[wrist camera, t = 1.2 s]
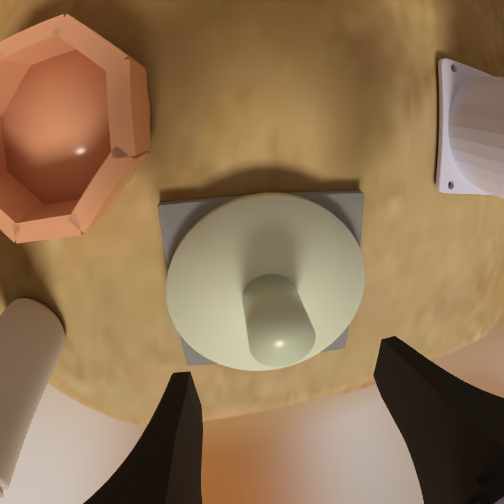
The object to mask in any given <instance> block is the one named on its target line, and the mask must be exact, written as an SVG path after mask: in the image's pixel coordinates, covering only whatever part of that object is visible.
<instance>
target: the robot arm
mask: <svg viewBox="0 0 504 504" xmlns="http://www.w3.org/2000/svg"><path fill="white" fill-rule="evenodd" d="M451 66H452V68H453V71H452V70H451ZM438 74H439V147H438V163H437V175H436V188H437V190H438V191H440V192H442V193H461V194H487V195H496V196H498V197H500V198H502V199H504V77H495V76H492V75H490V74H488V73H485V72H483V71H480V70H478V69H475V68H473V67H470V66H467V65H465V64H462V63H459V62H456V61H453V60H451V59H448V58H442V59H440V60H439V61H438ZM449 182H450V186H449V187H448V184H449ZM373 376H374V378H375V381H376V384H377V387H378V389H379V392H380V394H381V397H382V398H383V400H384V402H385V404H386V406H387V408H388V410H389V412H390V413H391V415H392V417H393V419H394V421H395V423H396V425H397V426H398V428H399V430H400V432H401V434H402V436H403V438H404V440H405V442H406V444H407V447H408V449H409V452H410V455H411V458H412V460H413V463H414V466H415V469H416V473H417V476H418V479H419V483H420V487H421V491H422V495H423V500H424V504H504V398H502V397H499V396H496V395H493V394H490V393H488V392H486V391H483V390H481V389H479V388H476V387H474V386H472V385H470V384H468V383H466V382H464V381H462V380H460V379H459V378H457V377H455V376H454V375H452V374H450V373H449V372H447V371H445V370H444V369H442V368H440V367H439V366H438V365H436V364H434V363H433V362H432V361H430V360H429V359H427V358H426V357H424V356H423V355H421V354H420V353H419V352H417V351H416V350H414V349H413V348H412V347H410V346H409V345H407V344H406V343H405V342H403V341H402V340H400V339H399V338H397V337H396V336H393V337H390V338H386V339H382V340H381V345H380V350H379V354H378V358H377V363H376V367H375V371H374V375H373ZM202 437H203V422H202V408H201V403H200V400H199V397H198V394H197V391H196V388H195V385H194V382H193V379H192V376H191V372H178V373H173V374H172V375H171V378H170V380H169V383H168V385H167V388H166V390H165V392H164V394H163V396H162V399H161V401H160V403H159V405H158V407H157V409H156V411H155V413H154V415H153V416H152V418H151V420H150V422H149V424H148V426H147V427H146V429H145V431H144V432H143V434H142V436H141V437H140V439H139V441H138V442H137V444H136V445H135V447H134V448H133V450H132V451H131V452H130V454H129V455H128V457H127V458H126V459H125V461H124V462H123V463H122V464H121V466H120V467H119V468H118V469H117V470H116V472H115V473H114V474H113V475H112V476H111V477H110V479H109V480H108V481H107V482H106V483H105V484H104V485H103V486H102V487H101V488H100V489H99V490H98V491H97V492H96V493H95V494H94V495H93V496H91V497H90V498H89V499H88V500H87V501H86V502H85V503H83V504H202V495H201V461H202V459H201V458H202V439H203V438H202Z"/></svg>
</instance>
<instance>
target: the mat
mask: <svg viewBox="0 0 504 504" xmlns="http://www.w3.org/2000/svg"><path fill="white" fill-rule="evenodd" d="M286 194H292V195H296V196H300V197H303V198H306V199H309V200H311V201H313V202H315V203H317V204H320V205H321V206H323V207H324V208H326V209H327V210H329V211H330V212H331V213H332V214H334V215H335V216H336V217H337V218H338V219H339V220H340V221H341V222H342V223H344V224H345V226H346V227H347V228H348V229H349V230H350V232H351V233H352V234H353V236H354V238H355V240H356V241H357V243H358V245H359V248H360V238H361V228H362V216H363V203H364V193H363V192H361V191H360V190H348V191H313V192H289V193H286ZM242 196H246V195H237V196H223V197H211V198H199V199H188V200H177V201H167V202H160V203H159V204H158V212H159V219H160V226H161V233H162V239H163V246H164V252H165V258H166V264H167V270H169V267H170V263H171V261H172V258H173V255H174V252H175V250H176V248H177V246H178V245H179V243H180V241H181V239H182V238H183V237H184V235H185V234H186V233H187V231H188V230H189V229H190V228H191V227H192V226H193V225H194V224H195V223H196V222H197V221H198V220H199V219H200V218H202V217H203V216H204V215H205V214H207V213H208V212H209V211H211V210H213V209H214V208H216V207H218V206H220V205H221V204H223V203H226V202H228V201H231V200H233V199H235V198H238V197H242ZM348 328H349V325H348V327H347V328H346V329H345V330H344V331H343V333H342V334H341V335H340V336H339V337H338V338H337V339H336V340H335V341H334V342H333V343H332V344H330V345H329V346H328V347H326V348H325V349H324V350H322V351H321V352H323V351H329V350H335V349H341V348H345V344H346V339H347V333H348ZM180 336H181V335H180ZM181 340H182V344H183V349H184V353H185V357H186V362H187V365H205V364H218V363H216V362H214V361H212V360H210V359H208V358H206V357H204V356H203V355H201V354H200V353H198V352H197V351H195V350H194V349H193V348H192V347H191V346H190V345H188V343H187V342H186V341H185V340H184V339H183V338H182V337H181Z"/></svg>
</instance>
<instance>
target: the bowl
mask: <svg viewBox="0 0 504 504" xmlns="http://www.w3.org/2000/svg"><path fill="white" fill-rule="evenodd" d="M144 68H145V67H144V66H143V65H141V64H140V63H139V62H137V61H136V60H135V59H133V58H132V57H131V56H129V55H128V54H126V53H125V52H124V51H122V50H121V49H120V48H118V47H117V46H115V45H114V44H112V43H111V42H110V41H108V40H107V39H105V38H104V37H102V36H101V35H99V34H98V33H97V32H95V31H94V30H92V29H91V28H89V27H87V26H86V25H84V24H83V23H81V22H79V21H78V20H76V19H75V18H73V17H71V16H70V15H68V14H67V15H65V14H62V15H59V16H57V17H54V18H51V19H49V20H46V21H44V22H41V23H39V24H37V25H34V26H32V27H30V28H27V29H25V30H23V31H21V32H19V33H17V34H15V35H12V36H10V37H8V38H6V39H4V40H3V41H1V42H0V230H1V231H2V232H3V233H4V234H5V235H6V236H7V237H9V238H10V239H11V240H12V241H13V242H15V241H16V243H24V242H32V241H39V240H47V239H55V238H63V237H71V236H80V235H82V234H83V233H85V232H86V231H87V230H88V229H89V228H90V227H91V226H93V225H94V224H95V223H96V222H97V221H98V220H99V219H100V218H101V217H102V216H103V215H104V214H105V213H106V212H107V210H108V209H109V207H110V206H111V205H112V203H113V202H114V200H115V199H116V197H117V196H118V194H119V193H120V192H121V190H122V189H123V187H124V186H125V185H126V184H127V182H128V181H129V180H130V179H131V177H132V176H133V174H134V173H135V171H136V170H137V168H138V167H139V166H140V164H141V163H142V162H143V160H144V159H145V158H146V157H147V155H148V154H149V153H150V151H149V149H151V138H150V126H151V105H150V97H149V94H148V90H147V70H146V69H144Z"/></svg>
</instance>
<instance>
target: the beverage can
mask: <svg viewBox="0 0 504 504" xmlns="http://www.w3.org/2000/svg"><path fill="white" fill-rule="evenodd" d="M65 346H66V337H65V333H64V329H63V326H62V324H61V322H60V320H59V319H58V318H57V316H56V315H55V314H54V312H52V311H51V310H50V309H49V308H48V307H46V306H45V305H43V304H42V303H39V302H37V301H35V300H32V299H27V298H20V299H16V300H14V301H12V302H11V303H10V304H9V306H8V307H7V308H6V309H5V310H4V312H3V313H2V314H1V315H0V498H3V496H4V495H3V490H6V489H8V488H9V485H10V482H11V478H12V475H13V472H14V469H15V466H16V463H17V460H18V457H19V454H20V451H21V448H22V445H23V443H24V439H25V437H26V434H27V431H28V429H29V426H30V424H31V421H32V418H33V416H34V413H35V411H36V409H37V406H38V404H39V401H40V399H41V397H42V394H43V392H44V390H45V388H46V386H47V383H48V381H49V379H50V377H51V375H52V373H53V371H54V369H55V367H56V364H57V362H58V360H59V358H60V356H61V354H62V352H63V350H64V348H65Z"/></svg>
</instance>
